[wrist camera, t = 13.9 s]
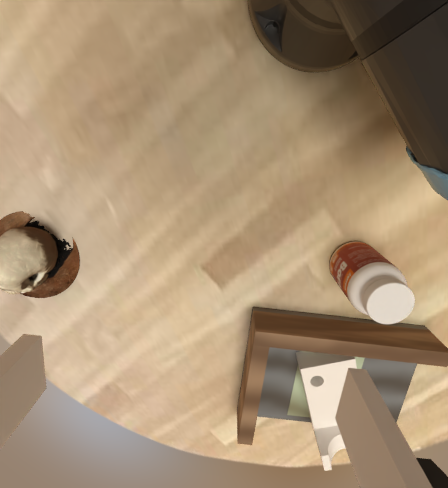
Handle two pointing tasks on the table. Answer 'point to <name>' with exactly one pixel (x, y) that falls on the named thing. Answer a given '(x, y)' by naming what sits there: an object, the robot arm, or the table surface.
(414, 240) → the table surface
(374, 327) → the tray
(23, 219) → the skull
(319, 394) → the bracket
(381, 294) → the pill bottle
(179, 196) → the table surface
